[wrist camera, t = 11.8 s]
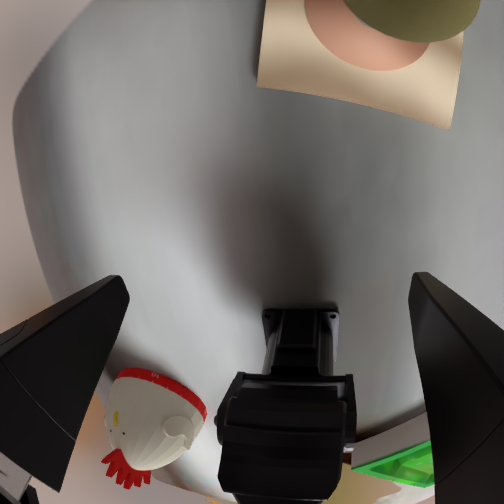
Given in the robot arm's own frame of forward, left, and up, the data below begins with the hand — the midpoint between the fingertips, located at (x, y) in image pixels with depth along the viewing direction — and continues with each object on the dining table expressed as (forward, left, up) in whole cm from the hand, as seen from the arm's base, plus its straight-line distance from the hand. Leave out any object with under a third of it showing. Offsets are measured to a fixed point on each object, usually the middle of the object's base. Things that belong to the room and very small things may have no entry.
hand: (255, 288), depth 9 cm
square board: (+10, -6, -13) cm, 17 cm away
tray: (-40, -25, -14) cm, 49 cm away
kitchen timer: (-30, +20, -13) cm, 38 cm away
